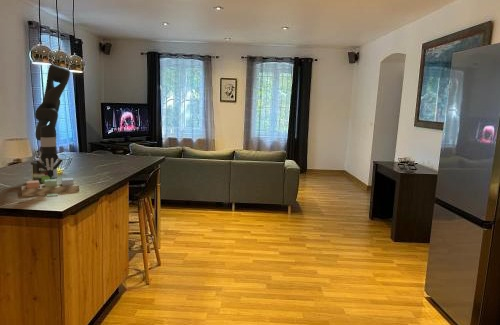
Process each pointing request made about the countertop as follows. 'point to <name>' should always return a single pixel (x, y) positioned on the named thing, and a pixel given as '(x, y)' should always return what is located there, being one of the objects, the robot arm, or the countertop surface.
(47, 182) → the sage button
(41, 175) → the coffee can
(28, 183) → the terracotta button
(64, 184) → the blue-grey button
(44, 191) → the console
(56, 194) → the tile
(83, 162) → the countertop surface
